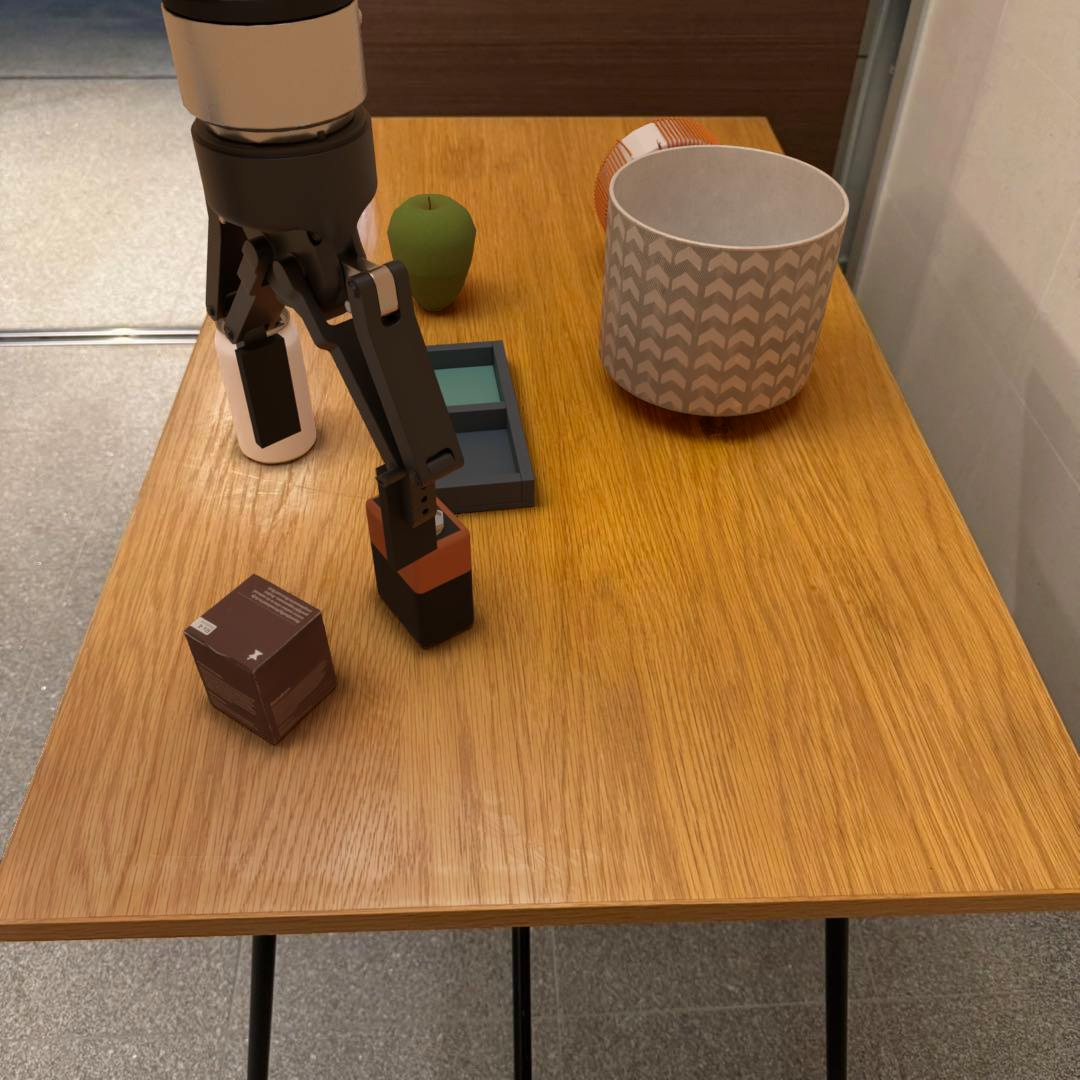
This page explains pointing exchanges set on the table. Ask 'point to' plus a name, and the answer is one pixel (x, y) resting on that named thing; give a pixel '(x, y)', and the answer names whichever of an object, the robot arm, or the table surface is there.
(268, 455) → the can
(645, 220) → the planter
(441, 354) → the holder
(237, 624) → the box
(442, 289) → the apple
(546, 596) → the table surface
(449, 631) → the battery
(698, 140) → the coil
